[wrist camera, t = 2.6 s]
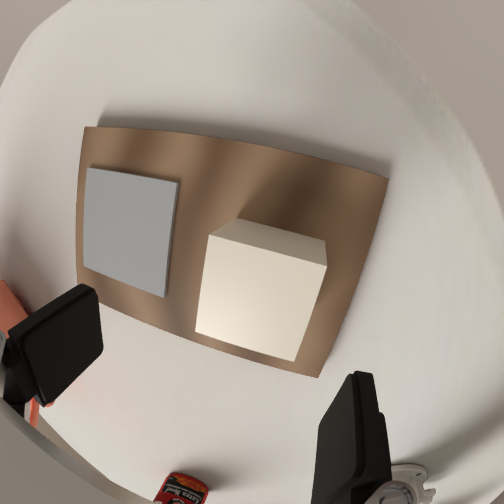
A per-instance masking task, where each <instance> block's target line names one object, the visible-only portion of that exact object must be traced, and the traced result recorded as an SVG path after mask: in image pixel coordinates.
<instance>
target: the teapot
mask: <svg viewBox="0 0 504 504" xmlns="http://www.w3.org/2000/svg"><path fill="white" fill-rule="evenodd" d="M27 317H28V315H27V313H26V312H25V311H24V309H23V306H22V304H21V302H20V300H19V298H18V297H17V296H16V295H13V293H12V292H11V290H10V289H9V287H8V285H7V284H6V282H5V281H4V280H0V330H1V331H3V333H4V334H5V336H6V339H7V338H9V335H8V332H7V331H8V330H9V329H11V328H12V327H14V326H15V325H17V324H18V323H20V322H21V321H22V320H24V319H25V318H27ZM54 402H55V400H54ZM54 402H52V403H48V404H47V405H46V406H45V407H50V406H52V405H53V404H54ZM30 411H31V415H30V425H32V426H33V427H34V428H35V429H36V426H37V422H38V414H39V403H38V402H36V401H35V399H34V397H33V398H32V399H31V401H30Z"/></svg>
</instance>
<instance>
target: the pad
mask: <svg viewBox="0 0 504 504" xmlns="http://www.w3.org/2000/svg"><path fill="white" fill-rule="evenodd" d="M178 189H179V183H178V182H173V181H168V180H163V179H157V178H152V177H146V176H141V175H135V174H129V173H123V172H117V171H111V170H105V169H98V168H92V167H88V168H87V174H86V185H85V199H84V222H83V260H84V266H85V267H87V268H89V269H92V270H94V271H96V272H99V273H101V274H104V275H106V276H108V277H111V278H113V279H116V280H118V281H121V282H123V283H126V284H128V285H131V286H133V287H136V288H139V289H141V290H144V291H146V292H149V293H152V294H154V295H157V296H160V297H163V298H165V297H166V294H167V281H168V270H169V260H170V250H171V241H172V233H173V225H174V217H175V210H176V203H177V196H178Z"/></svg>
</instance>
